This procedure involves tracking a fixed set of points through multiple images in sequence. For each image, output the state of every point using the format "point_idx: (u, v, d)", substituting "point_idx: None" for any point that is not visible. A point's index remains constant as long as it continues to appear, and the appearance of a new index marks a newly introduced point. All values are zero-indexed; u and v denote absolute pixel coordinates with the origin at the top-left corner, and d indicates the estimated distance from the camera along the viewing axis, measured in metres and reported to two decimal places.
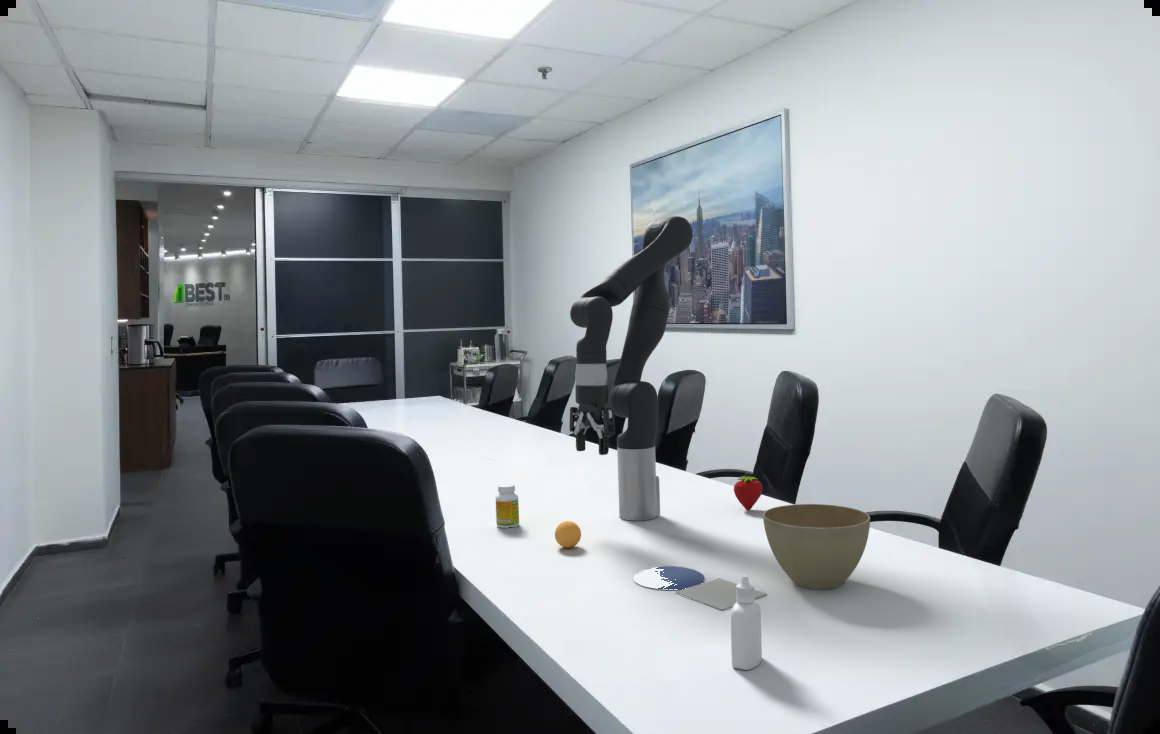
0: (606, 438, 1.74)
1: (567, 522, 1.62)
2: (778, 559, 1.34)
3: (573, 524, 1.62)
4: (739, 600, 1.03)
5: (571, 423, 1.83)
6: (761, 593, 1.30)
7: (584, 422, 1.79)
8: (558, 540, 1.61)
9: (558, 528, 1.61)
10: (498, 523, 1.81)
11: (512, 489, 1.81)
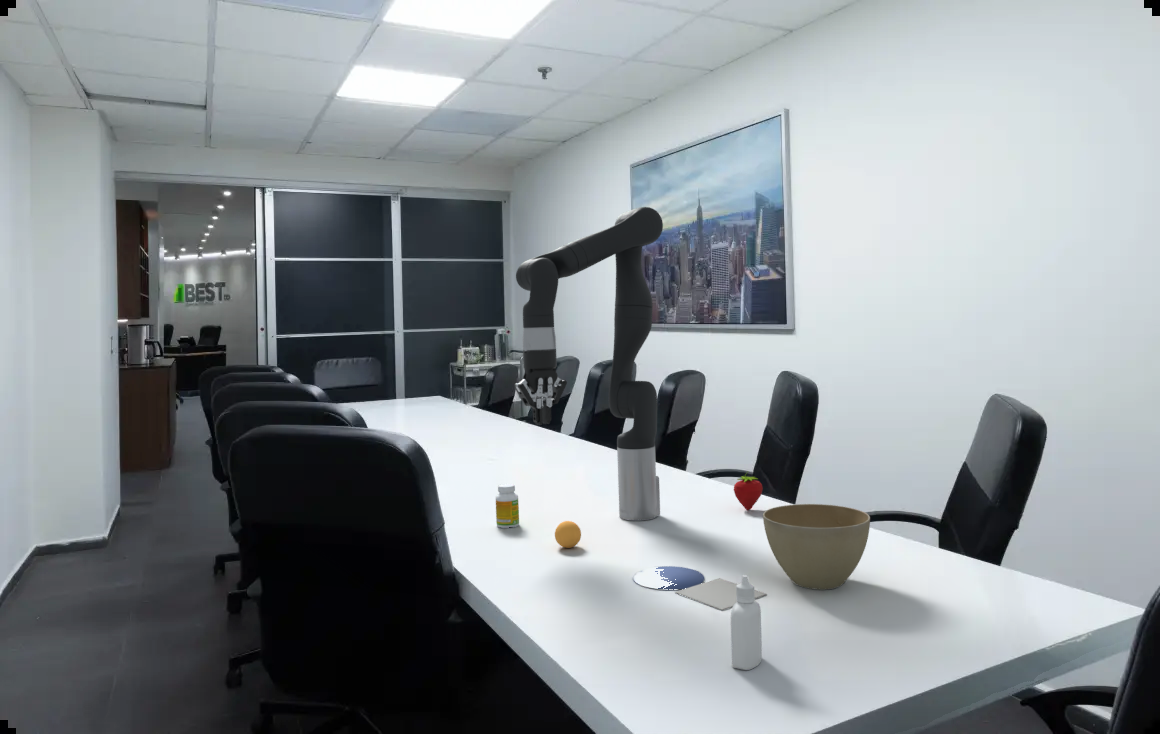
0: None
1: (567, 522, 1.62)
2: (778, 559, 1.34)
3: (573, 524, 1.62)
4: (739, 600, 1.03)
5: (529, 398, 1.70)
6: (761, 593, 1.30)
7: (542, 387, 1.72)
8: (558, 540, 1.61)
9: (558, 528, 1.61)
10: (498, 523, 1.81)
11: (512, 489, 1.81)
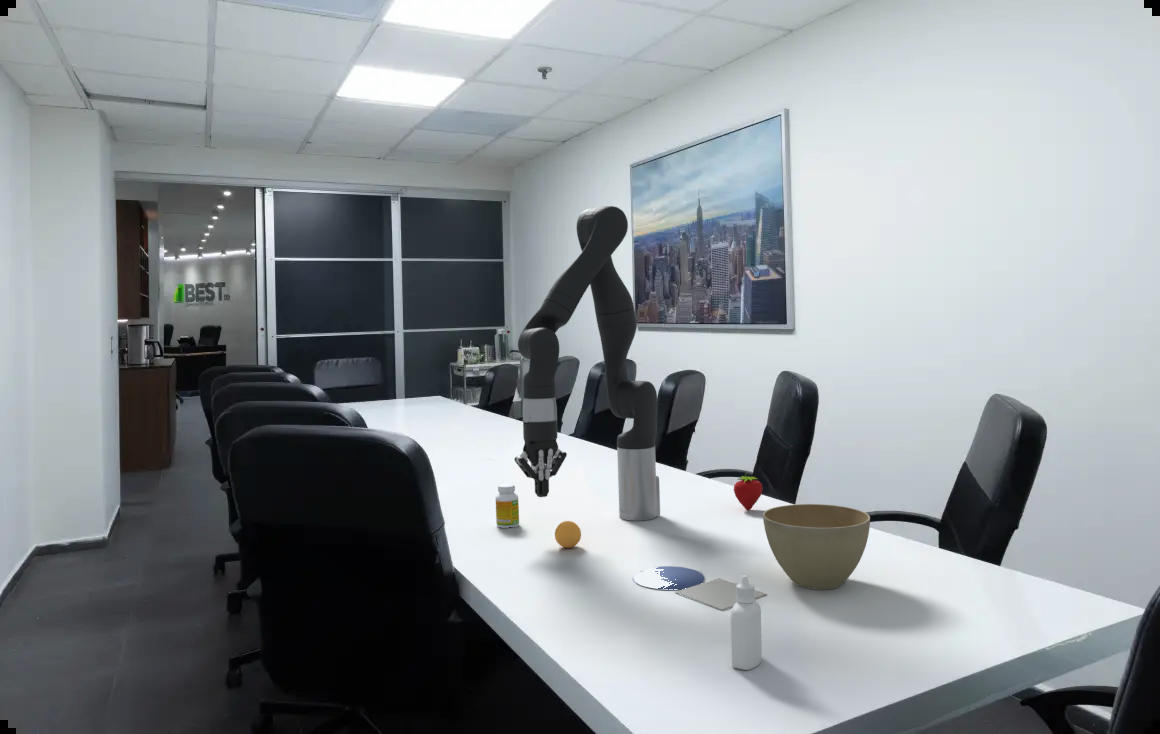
0: None
1: (567, 522, 1.62)
2: (778, 559, 1.34)
3: (573, 524, 1.62)
4: (739, 600, 1.03)
5: (531, 471, 1.66)
6: (761, 593, 1.30)
7: (543, 458, 1.68)
8: (558, 540, 1.61)
9: (558, 528, 1.61)
10: (498, 523, 1.81)
11: (512, 489, 1.81)
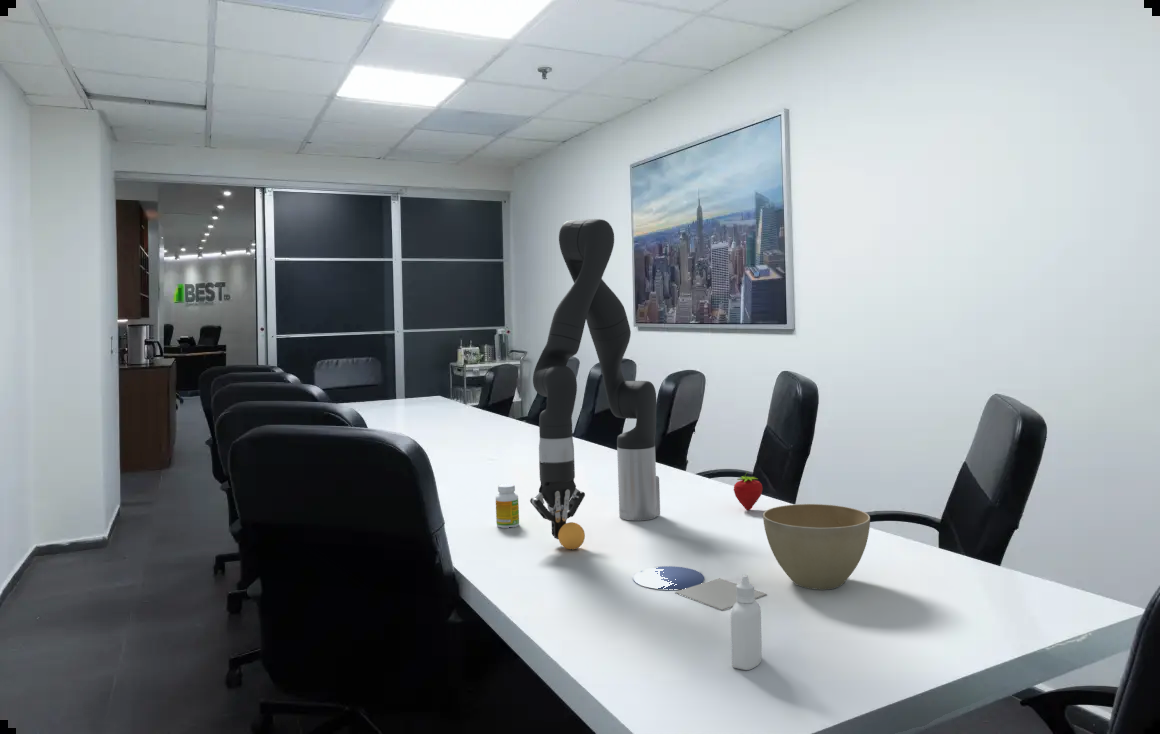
0: None
1: (573, 525, 1.60)
2: (778, 559, 1.34)
3: (578, 528, 1.60)
4: (739, 600, 1.03)
5: (547, 513, 1.61)
6: (761, 593, 1.30)
7: (560, 499, 1.63)
8: (561, 542, 1.60)
9: (563, 530, 1.60)
10: (498, 523, 1.81)
11: (512, 489, 1.81)
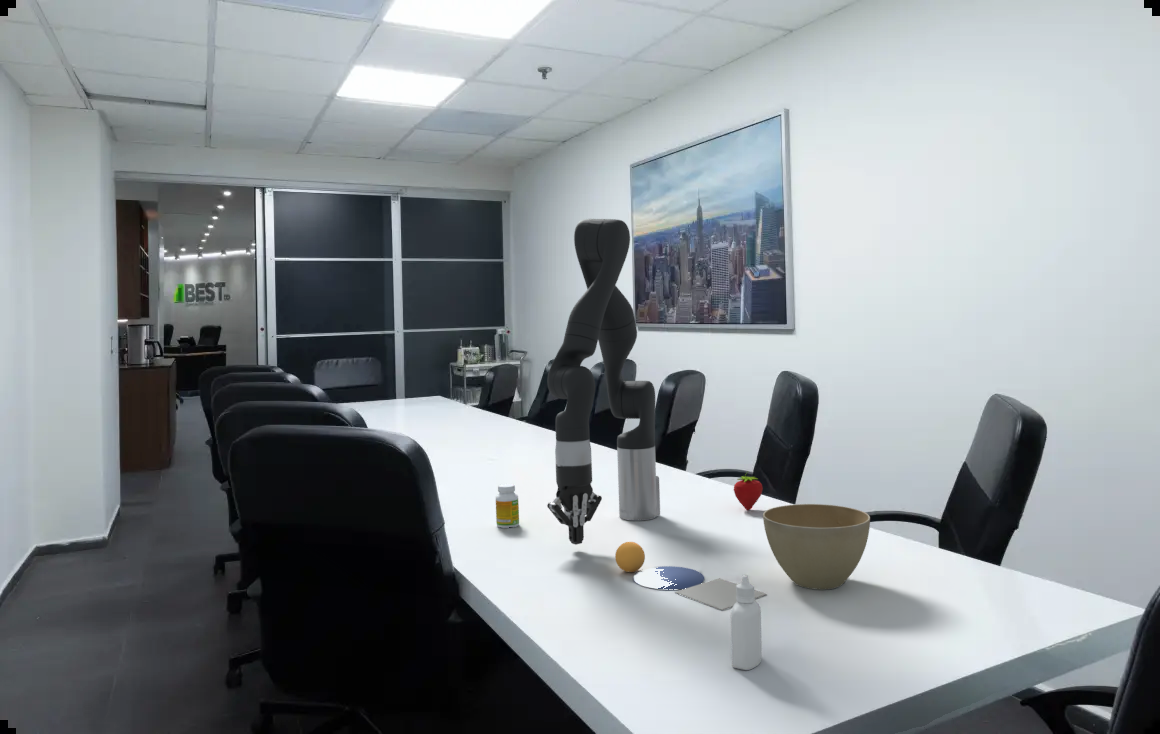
0: None
1: (635, 552, 1.43)
2: (778, 559, 1.34)
3: (640, 556, 1.43)
4: (739, 600, 1.03)
5: (565, 517, 1.57)
6: (761, 593, 1.30)
7: (577, 503, 1.59)
8: (618, 563, 1.44)
9: (623, 554, 1.43)
10: (498, 523, 1.81)
11: (512, 489, 1.81)
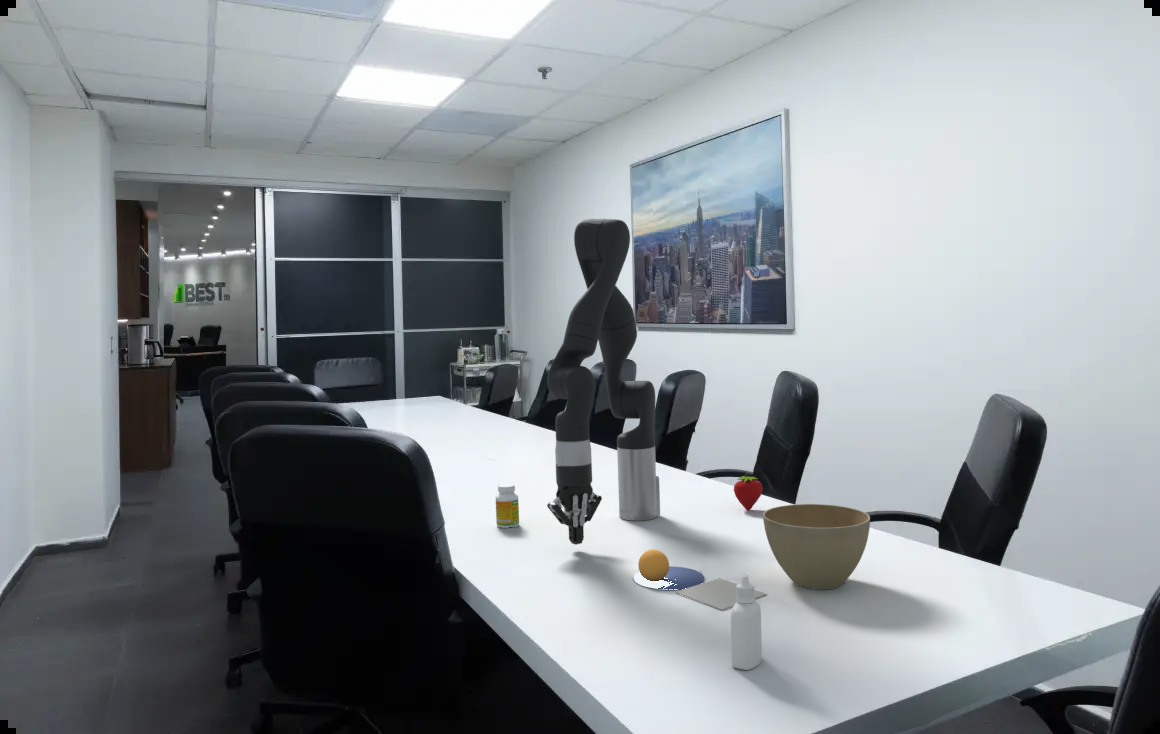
0: None
1: None
2: (778, 559, 1.34)
3: None
4: (739, 600, 1.03)
5: (565, 517, 1.57)
6: (761, 593, 1.30)
7: (577, 503, 1.59)
8: (641, 562, 1.38)
9: (643, 576, 1.38)
10: (498, 523, 1.81)
11: (512, 489, 1.81)
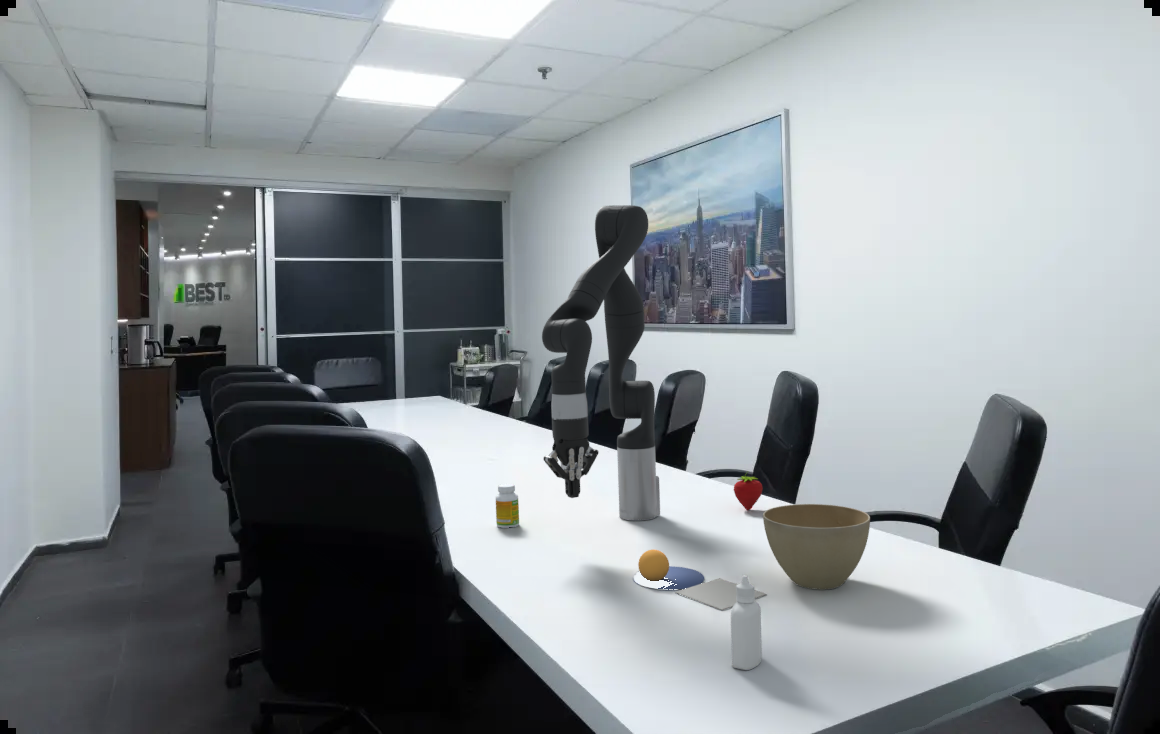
0: None
1: None
2: (778, 559, 1.34)
3: None
4: (739, 600, 1.03)
5: (561, 471, 1.57)
6: (761, 593, 1.30)
7: (574, 457, 1.59)
8: (641, 562, 1.38)
9: (643, 576, 1.38)
10: (498, 523, 1.81)
11: (512, 489, 1.81)
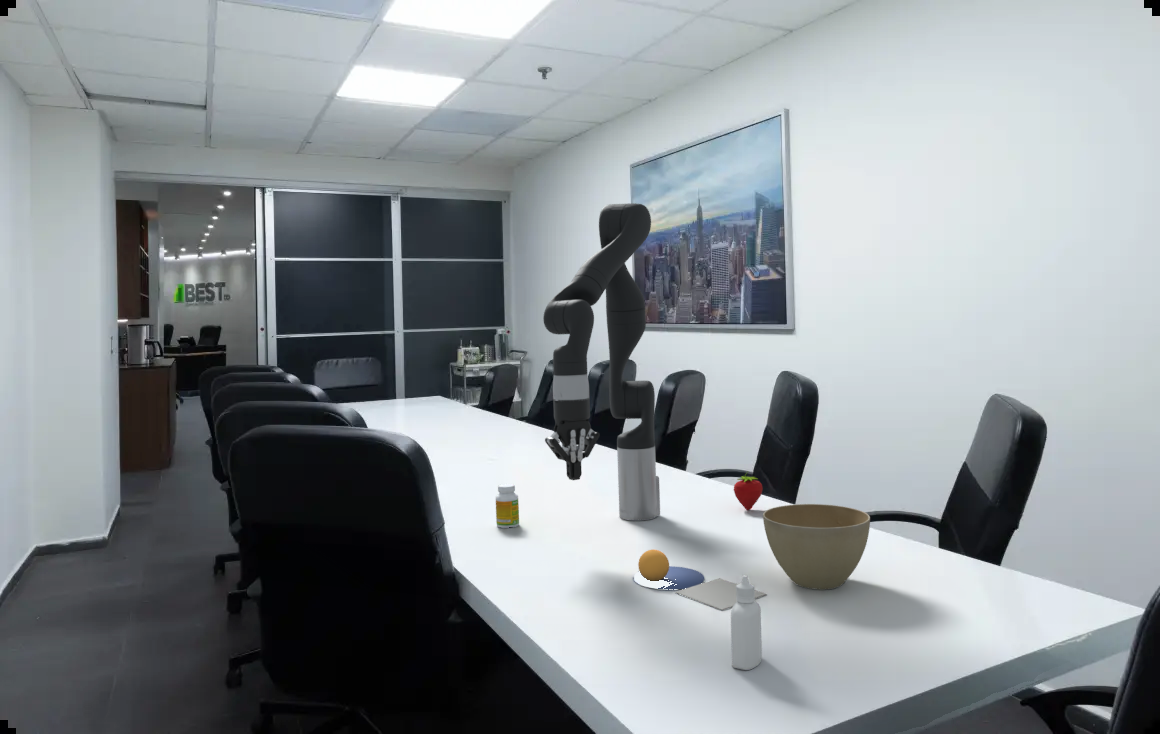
0: None
1: None
2: (778, 559, 1.34)
3: None
4: (739, 600, 1.03)
5: (563, 452, 1.56)
6: (761, 593, 1.30)
7: (575, 439, 1.58)
8: (641, 562, 1.38)
9: (643, 576, 1.38)
10: (498, 523, 1.81)
11: (512, 489, 1.81)
